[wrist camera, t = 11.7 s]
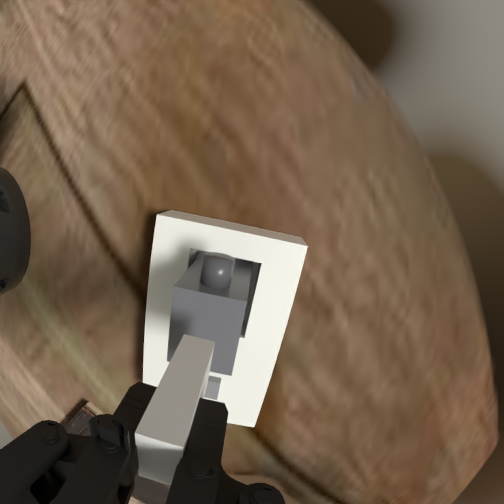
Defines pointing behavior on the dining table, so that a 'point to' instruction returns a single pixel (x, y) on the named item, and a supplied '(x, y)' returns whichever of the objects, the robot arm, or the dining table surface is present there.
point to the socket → (257, 309)
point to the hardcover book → (144, 488)
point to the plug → (211, 306)
